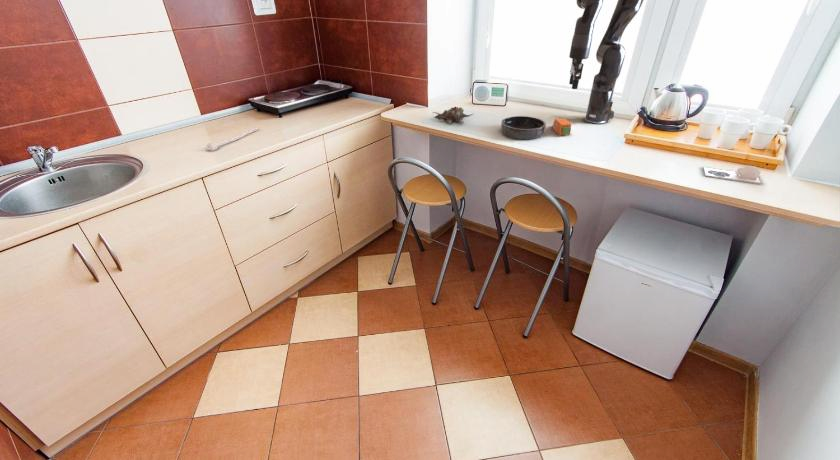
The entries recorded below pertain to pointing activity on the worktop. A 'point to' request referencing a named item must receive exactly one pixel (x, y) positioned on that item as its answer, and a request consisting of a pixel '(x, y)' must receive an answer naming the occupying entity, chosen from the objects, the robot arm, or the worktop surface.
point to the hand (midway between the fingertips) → (573, 86)
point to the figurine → (452, 115)
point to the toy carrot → (562, 126)
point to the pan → (523, 127)
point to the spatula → (213, 145)
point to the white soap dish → (736, 174)
